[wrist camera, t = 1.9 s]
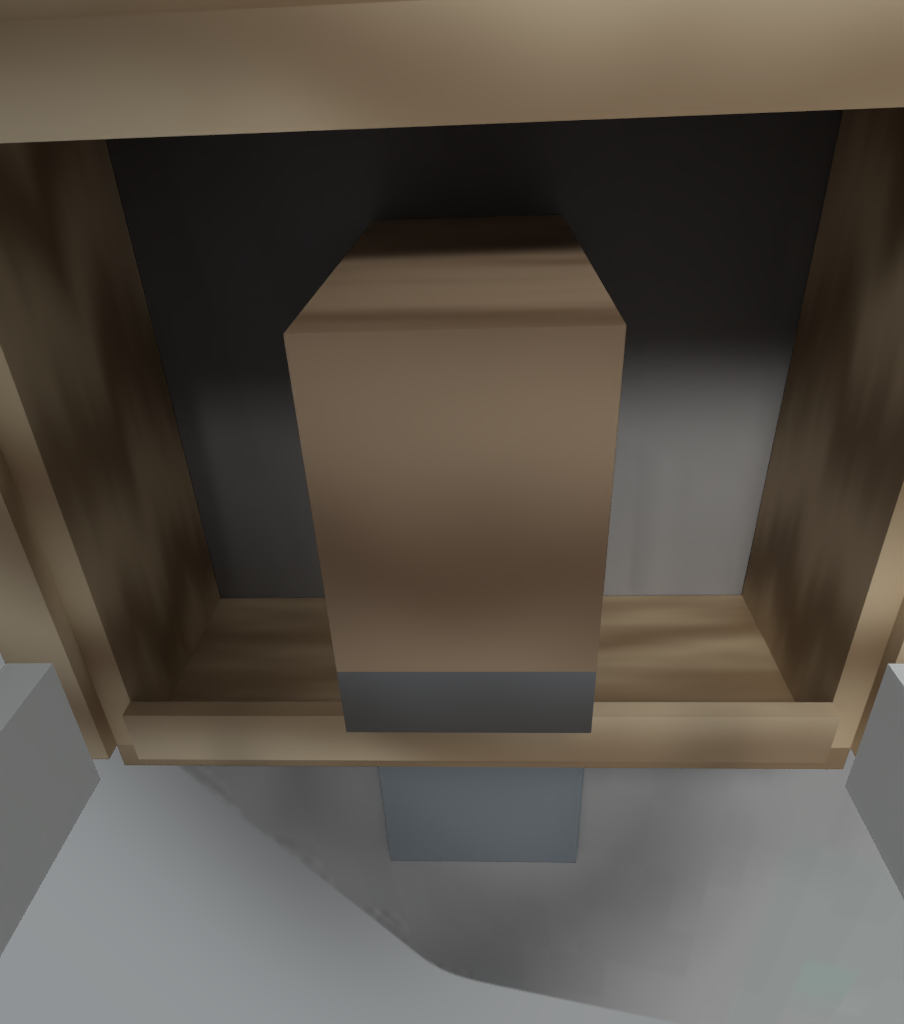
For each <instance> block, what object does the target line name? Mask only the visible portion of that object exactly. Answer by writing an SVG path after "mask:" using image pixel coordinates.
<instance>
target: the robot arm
mask: <svg viewBox="0 0 904 1024" xmlns="http://www.w3.org/2000/svg"><path fill="white" fill-rule="evenodd" d="M99 780H100V778H99V775H98V773H97V770H96V768H95V766H94V763H93V761H92V758H91V756H90V753H89V751H88V748H87V746H86V744H85V741H84V739H83V736H82V734H81V731H80V729H79V726H78V724H77V722H76V719H75V717H74V714H73V712H72V709H71V707H70V704H69V702H68V700H67V697H66V695H65V692H64V690H63V687H62V685H61V682H60V680H59V678H58V675H57V673H56V670H55V668H54V665H53V663H7V664H6V665H5V666H4V667H3V669H2V670H1V671H0V956H1V954H2V952H3V951H4V949H5V947H6V945H7V943H8V942H9V940H10V938H11V936H12V935H13V933H14V931H15V929H16V927H17V926H18V924H19V922H20V920H21V919H22V917H23V915H24V913H25V912H26V910H27V908H28V906H29V905H30V903H31V901H32V899H33V897H34V896H35V894H36V892H37V890H38V888H39V887H40V885H41V883H42V881H43V880H44V878H45V876H46V874H47V873H48V871H49V869H50V867H51V866H52V864H53V862H54V860H55V858H56V857H57V855H58V853H59V851H60V850H61V848H62V846H63V844H64V842H65V841H66V839H67V837H68V835H69V834H70V832H71V830H72V828H73V826H74V825H75V823H76V821H77V819H78V817H79V816H80V814H81V812H82V810H83V809H84V807H85V805H86V803H87V802H88V800H89V798H90V796H91V794H92V793H93V791H94V789H95V787H96V785H97V784H98V782H99ZM846 788H847V790H848V792H849V794H850V796H851V798H852V800H853V802H854V804H855V806H856V808H857V810H858V812H859V813H860V815H861V817H862V819H863V821H864V823H865V825H866V827H867V829H868V831H869V833H870V835H871V837H872V839H873V841H874V842H875V844H876V846H877V848H878V850H879V852H880V854H881V856H882V858H883V860H884V862H885V864H886V866H887V868H888V870H889V871H890V873H891V875H892V877H893V879H894V881H895V883H896V885H897V887H898V889H899V891H900V893H901V895H902V897H903V899H904V664H887V667H886V670H885V673H884V676H883V679H882V682H881V685H880V688H879V690H878V693H877V696H876V699H875V702H874V705H873V708H872V711H871V714H870V716H869V719H868V722H867V725H866V728H865V731H864V734H863V737H862V740H861V742H860V745H859V748H858V751H857V754H856V757H855V760H854V763H853V766H852V768H851V771H850V774H849V777H848V780H847V783H846Z"/></svg>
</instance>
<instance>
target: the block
mask: <svg viewBox="0 0 904 1024" xmlns="http://www.w3.org/2000/svg"><path fill="white" fill-rule="evenodd" d="M283 336H284V342H285V348H286V354H287V361H288V367H289V373H290V380H291V386H292V392H293V399H294V405H295V411H296V418H297V424H298V430H299V436H300V443H301V449H302V455H303V462H304V468H305V474H306V481H307V487H308V493H309V500H310V506H311V512H312V519H313V525H314V531H315V537H316V544H317V550H318V556H319V563H320V569H321V575H322V582H323V588H324V594H325V601H326V607H327V613H328V620H329V626H330V632H331V638H332V645H333V651H334V657H335V664H336V670H337V676H338V683H339V689H340V695H341V702H342V708H343V714H344V720H345V727H346V732H414V733H591V729H592V718H593V706H594V694H595V683H596V671H597V660H598V648H599V637H600V625H601V614H602V602H603V591H604V579H605V568H606V556H607V544H608V533H609V521H610V510H611V498H612V487H613V475H614V464H615V452H616V441H617V429H618V418H619V406H620V394H621V383H622V371H623V360H624V348H625V337H626V324H625V322H624V320H623V318H622V317H621V315H620V313H619V311H618V310H617V308H616V306H615V305H614V303H613V301H612V299H611V298H610V296H609V294H608V293H607V291H606V289H605V287H604V286H603V284H602V282H601V280H600V279H599V277H598V275H597V274H596V272H595V270H594V268H593V267H592V265H591V263H590V262H589V260H588V258H587V256H586V255H585V253H584V251H583V249H582V248H581V246H580V244H579V243H578V241H577V239H576V237H575V236H574V234H573V232H572V231H571V229H570V227H569V225H568V224H567V222H566V220H565V218H564V217H563V215H535V216H505V217H475V218H445V219H415V220H385V221H372V223H371V224H370V225H369V226H368V228H367V229H366V230H365V232H364V233H363V234H362V235H361V237H360V238H359V239H358V240H357V242H356V243H355V244H354V245H353V247H352V248H351V249H350V250H349V252H348V253H347V254H346V255H345V257H344V258H343V259H342V261H341V262H340V263H339V264H338V266H337V267H336V268H335V269H334V271H333V272H332V273H331V274H330V276H329V277H328V278H327V279H326V281H325V282H324V283H323V284H322V286H321V287H320V288H319V290H318V291H317V292H316V293H315V295H314V296H313V297H312V298H311V300H310V301H309V302H308V303H307V305H306V306H305V307H304V308H303V310H302V311H301V312H300V313H299V315H298V316H297V317H296V319H295V320H294V321H293V322H292V324H291V325H290V326H289V327H288V329H287V330H286V331H285V332H284V334H283Z"/></svg>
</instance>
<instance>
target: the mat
mask: <svg viewBox="0 0 904 1024" xmlns="http://www.w3.org/2000/svg"><path fill="white" fill-rule="evenodd" d="M378 768H379V775H380V783H381V791H382V798H383V806H384V813H385V821H386V829H387V836H388V844H389V852H390V859H391V860H401V861H481V862H561V863H576V858H577V845H578V833H579V821H580V809H581V797H582V785H583V773H584V768H559V767H385V766H378Z"/></svg>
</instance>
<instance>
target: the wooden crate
mask: <svg viewBox="0 0 904 1024" xmlns="http://www.w3.org/2000/svg"><path fill="white" fill-rule="evenodd" d="M819 110H843V114H842V118H841V123H840V128H839V133H838V138H837V142H836V147H835V152H834V157H833V161H832V166H831V171H830V176H829V181H828V185H827V190H826V195H825V200H824V205H823V209H822V214H821V219H820V224H819V228H818V233H817V238H816V243H815V248H814V252H813V257H812V262H811V267H810V271H809V276H808V281H807V286H806V291H805V295H804V300H803V305H802V310H801V315H800V319H799V324H798V329H797V334H796V338H795V343H794V348H793V353H792V358H791V362H790V367H789V372H788V377H787V382H786V386H785V391H784V396H783V401H782V405H781V410H780V415H779V420H778V425H777V429H776V434H775V439H774V444H773V449H772V453H771V458H770V463H769V468H768V472H767V477H766V482H765V487H764V492H763V496H762V501H761V506H760V511H759V516H758V520H757V525H756V530H755V535H754V539H753V544H752V549H751V554H750V559H749V563H748V568H747V573H746V578H745V583H744V587H743V592H742V595H664V596H603V602H602V614H601V625H600V637H599V648H598V660H597V671H596V683H595V694H594V706H593V718H592V729H591V733H414V732H346V727H345V720H344V714H343V708H342V702H341V695H340V689H339V683H338V676H337V670H336V664H335V657H334V651H333V645H332V638H331V632H330V626H329V620H328V613H327V607H326V601H325V598H220V594H219V590H218V586H217V582H216V578H215V574H214V570H213V566H212V562H211V558H210V554H209V550H208V546H207V542H206V538H205V534H204V530H203V526H202V522H201V518H200V515H199V511H198V507H197V503H196V499H195V495H194V491H193V487H192V483H191V479H190V475H189V471H188V467H187V463H186V459H185V455H184V451H183V447H182V443H181V439H180V435H179V431H178V427H177V423H176V419H175V415H174V411H173V407H172V403H171V399H170V395H169V391H168V387H167V383H166V379H165V375H164V371H163V367H162V363H161V359H160V355H159V351H158V347H157V343H156V339H155V335H154V331H153V327H152V323H151V319H150V315H149V311H148V307H147V303H146V299H145V295H144V291H143V287H142V283H141V279H140V275H139V271H138V267H137V264H136V260H135V256H134V252H133V248H132V244H131V240H130V236H129V232H128V228H127V224H126V220H125V216H124V212H123V208H122V204H121V200H120V196H119V192H118V188H117V184H116V180H115V176H114V172H113V168H112V164H111V160H110V156H109V152H108V148H107V144H106V140H105V139H120V138H145V137H170V136H195V135H220V134H245V133H270V132H295V131H320V130H345V129H370V128H395V127H420V126H445V125H470V124H495V123H520V122H544V121H569V120H594V119H619V118H644V117H669V116H694V115H719V114H744V113H769V112H794V111H819ZM0 653H1V655H2V657H3V659H4V661H5V663H6V664H7V663H53V665H54V668H55V670H56V673H57V675H58V678H59V680H60V682H61V685H62V687H63V690H64V692H65V695H66V697H67V700H68V702H69V704H70V707H71V709H72V712H73V714H74V717H75V719H76V722H77V724H78V726H79V729H80V731H81V734H82V736H83V739H84V741H85V744H86V746H87V748H88V751H89V753H90V756H91V758H92V759H109V758H110V756H111V755H112V753H113V751H114V749H115V747H116V746H118V749H119V751H120V753H121V756H122V759H123V761H124V764H125V765H210V766H385V767H559V768H734V769H843V768H844V765H845V762H846V759H847V756H848V754H849V751H850V748H851V750H852V752H853V753H854V755H855V757H856V754H857V751H858V748H859V745H860V742H861V740H862V737H863V734H864V731H865V728H866V725H867V722H868V719H869V716H870V714H871V711H872V708H873V705H874V702H875V699H876V696H877V693H878V690H879V688H880V685H881V682H882V679H883V676H884V673H885V670H886V667H887V664H904V0H0Z"/></svg>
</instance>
